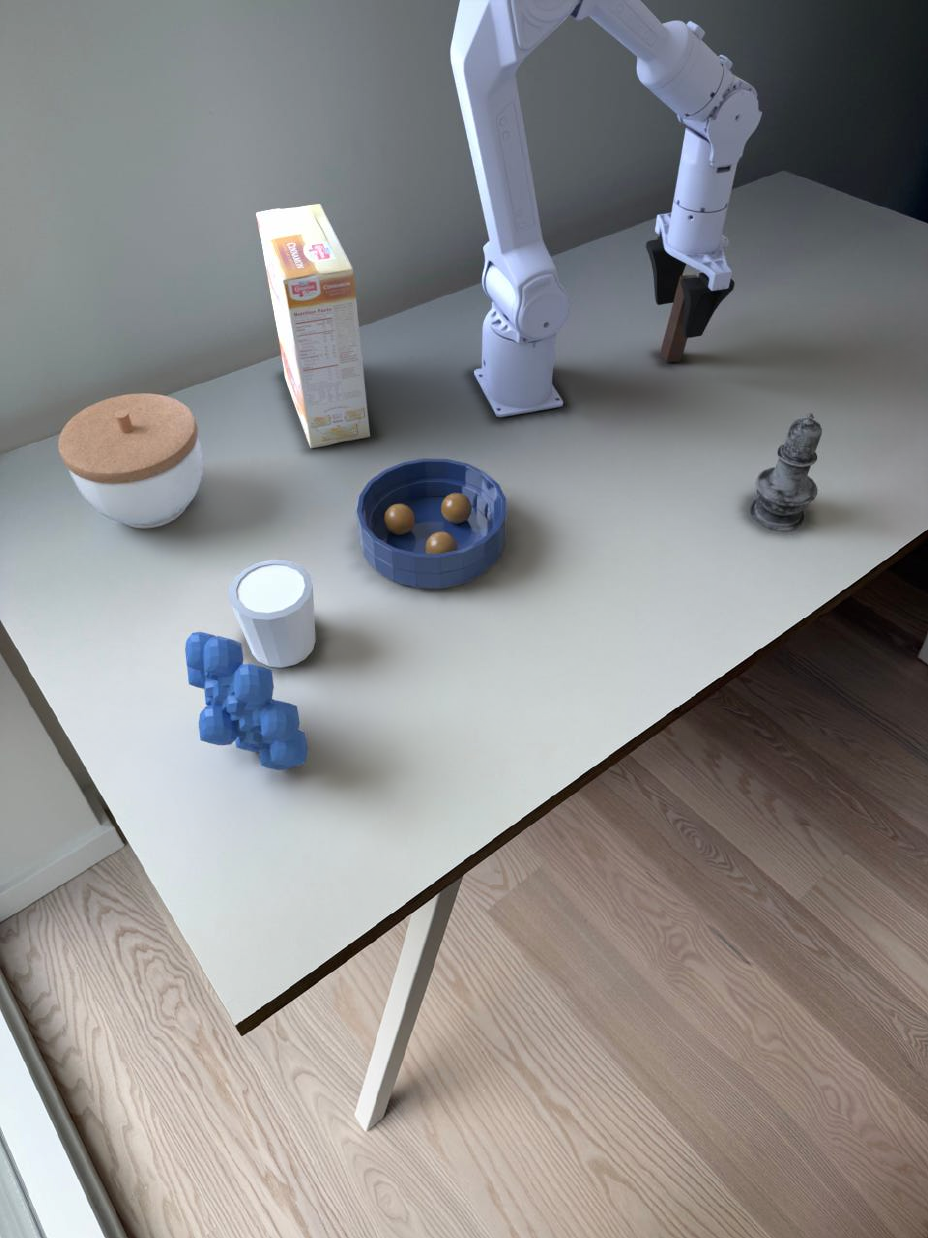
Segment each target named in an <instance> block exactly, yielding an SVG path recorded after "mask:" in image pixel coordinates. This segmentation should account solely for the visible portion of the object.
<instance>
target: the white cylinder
mask: <svg viewBox="0 0 928 1238" xmlns="http://www.w3.org/2000/svg"><path fill="white" fill-rule="evenodd" d="M228 597H229V602H230V605H231V608H232V610H233V613H234V615H235V617H236V620H237V621H238V624H239V626H240V628H241V631H242V633H243V635H244V638H245V640H246V643H247V645H248V647H249V649H250V652H251V653H252V656H254V658H255V659H256V660H257V661H258V662H259V663H261V664H263V665H264V666H267V667H270V668H280V669H281V668H287V667H291V666H296V665H297V664H299V663H301V662H303V661H304V660H306V659H307V658H308V657H309V656H310V654H311V653H312V652H313V651H314V648H315V644H316V641H317V640H316V621H315V619H316V618H315V617H316V616H315V601H314V585H313V581H312V577H311V574H310V573H309V572H308V571H307V570H306V569H305V568H304V567H303V566H302V565H300V564H298V563H295V562H294V561H291V560H284V559H275V558H274V559H268V560H264V561H263V560H262V561H260V562H259V561H257V562H256V563H253V564H251V565H250V566H248V567H246V568H245V567H244V568H243V569H242V570H241V571H240V572H239V573H238V574H237V575H236V576H235V577H234V578H233V579H232V581H231V584H230V587H229V588H228Z"/></svg>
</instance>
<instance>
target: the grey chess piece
mask: <svg viewBox="0 0 928 1238" xmlns="http://www.w3.org/2000/svg"><path fill="white" fill-rule="evenodd" d="M805 416H806V417H800V418H797V419H796V420H794V421H792V422H791V424H790V426H789V428H788V430H787V435H786V437H785V441H784V444H782V445H780V446H779V447H778V449H777V456H778V459H777V462H776V465H775V466H774V467H773V466H772V467H769V468H766V469H763V470H762V471H760V472H759V473H758V475H757V476H756V477H755V487H756V493H757V494H756V495H757V498H756V499H755V500H753V501H752V503H751V505H750V509H749V511H750V515H751V517H752V519H753V520H754V521H755V522H756V523H758V524H759V525H760V526H762V527H763V528H766V529H769V530H771V531H775V532H788V531H793V530H796V529H798V528H799V527H801V526H802V524H803V523H804V521H805V514H804V510H805V509H806V508H808V507H809V505H810V504H811V503H812V502H813V501H815V499H816V497H817V496H818V486H817V484H816V482H815V481H814V480H813V478H812V477H811V476H809V473H810V470H811V467H812V466H813V465H814V464H816V462H817V461H818V455H817V452H816V451H817V449H818V446H819V443H820V440H821V437H822V434H823V428H822V426H821V424H820V423H819V422H818V421H816V420H815V416H814V414H813V413H812V412H811V413H809V414H807V415H805Z"/></svg>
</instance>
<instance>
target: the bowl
mask: <svg viewBox="0 0 928 1238" xmlns="http://www.w3.org/2000/svg"><path fill="white" fill-rule="evenodd" d="M452 493H461V494H463V495H465V496H466V497H467V498H468V499H469V500H470V502H471V506H472V511H471V514H470V516H469V518H468V519H467V520H466V521H464V522H463V523H459V524H454V523H450V522H448V521H447V520H446V519H445V518H444V517H443V515H442V512H441V505H442V502H443V500H444V499H445V498H446V497H447V496H448V495H450V494H452ZM395 504H404V505H406V506H408V507H409V508H411V510H412V511H413V513H414V516H415V523H414V526H413V528H412V529H411V530H410V531H409V532H408V533H406V534H403V535H396V534H393V533H391V532H390V531H389V530H388V529H387V528H386V526H385V524H384V515H385V512H386V511H387V509H388V508H389V507H391V506H392V505H395ZM355 512H356V513H355V514H356V521H357V528H358V529H357V531H358V537H359V544H360V548H361V550H362V554H363V557H364V559H365V560H366V561H367V562H368V563H369V565H370V566H371V567H372V568H373V569H374V571H375V572H377V573H379V574H380V575H382V576H384V577H385V578H387V579H389V580H391V581H392V582H395V583H397V584H401V585H405V586H409V587H412V588H417V589H445V588H450V587H454V586H455V587H456V586H459V585H464V584H466V583H468V582H471V581H472V580H474V579H476V578H478V577H480V576H482V575H484V574H485V573H486V572H487V571H488V570H489V569H490V568H491V567H493V566H494V565H495V564H496V562H498V561H499V559H500V557H501V554H502V552H503V550H504V548H505V545H506V532H507V531H506V530H507V497H506V496H505V494H504V492H503V490H502V488H501V486H500V484H499V483H498V482H497V481H496V480H495V479H494V478H492V476H491V475H490V474H488V473H487V472H486V471H484V470H482V469H479V468H478V467H476V466H474V465H471V464H469V463H468V462H463V461H459V460H454V459H449V458H420V459H419V458H418V459H414V460H408V461H403V462H400V463H397V464H396V465H393V466H390V467H388V468H386V469H383V470H382V471H380V472H379V473H378V474H377V475H376V476H374V477H373V478H371V479H370V480H369V481H368V482H367V483H366V485H365V486H364V487H363V489H362V491H361V492H360V494H359V495H358V497H357V505H356V511H355ZM436 532H447V533H449V534H451V535H452V536H453V537H454V538H455V540H456V542H457V547H458V549H457V550H456V551H451V552H446V553H441V554H427V553H426V542H427V540H428V538H429V537H430V536H431V535H432V534H434V533H436Z"/></svg>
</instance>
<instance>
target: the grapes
mask: <svg viewBox="0 0 928 1238" xmlns="http://www.w3.org/2000/svg"><path fill="white" fill-rule="evenodd" d="M184 652H185V653H184V654H185V662H186V667H187V668H186V671H187V679H188V680H187V681H188V685H189V686H193V687H195V688H198V689H202V690H203V691H204V702H205V707H204V708H203V709H202V710H201V711H200V713H199V717H198V729H199V730H198V731H199V739H200V741H201V742H205V743H208V744H211V745H216V746H230V745H232V744H233V743H234V742H235V747H236V748H237V749H240V750H243V751H247V752H252V753H258V754H259V761H260V766H262V767H264V768H267V769H272V770H276V771H283V770H284V771H285V770H290V769H291V768H292V767H293V768H294V767H301V766H302V765H303V764H304V763H305V762H306V761H307V756H308V749H309V748H308V739H307V735H306V732H305V731H303V730H300V716H299V710H298V706H297V705H295V704H293V703H290V702H286V701H281V700H277V699H273V696H274V688H275V686H274V677H273V671H272V670H271V669H270V668H267V667H265V666H264V667H263V666H261V665H257V664H252V663H244V652H243V645H242V642H240V641H237V640H235V639H233V638H232V639H231V638H229V637H224V636H220V635H215V634H211V633H207V632H203V631H195V632H192V633H191V634H189V637H187V639H186V640H185V648H184Z"/></svg>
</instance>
